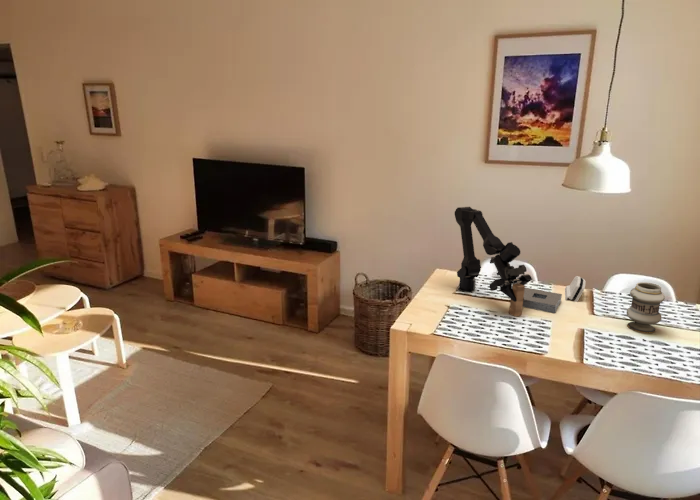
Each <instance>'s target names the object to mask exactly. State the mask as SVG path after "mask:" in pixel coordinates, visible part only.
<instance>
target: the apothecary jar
mask: <svg viewBox="0 0 700 500" xmlns="http://www.w3.org/2000/svg"><path fill="white" fill-rule="evenodd" d="M629 296H630V297H631V299H632V300H631V305H630V307H628V308H627V309H626V315H627V317H628V318H629V319H630V320H631V321H630V322H628V323H627V327H628V328H629V330H630V329H631V330H633V331H634V332H637V333H641V334H653V333H656V330H657V329H656V328H655V327H654V326H653V325H656V324H658V323H660V322H661V320H662V315H661V313H660V306H661V303H663V302H664V301H665V300H666V299H665V298H666V297H665V294H664V293H663V292H662V287H661V285H659V284H657V283H653V282H643V281H642V282H641V281H640V282H637V283H636V284H635V287H634V288H632V289H631V290H630V292H629Z"/></svg>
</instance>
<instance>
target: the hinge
mask: <svg viewBox="0 0 700 500" xmlns="http://www.w3.org/2000/svg"><path fill="white" fill-rule="evenodd" d="M586 283H587V282H586V280H585V278H583V277H581V276H578V275H576V276H574V278H573V279H572V281H571V282H570V284H569V285H566V286H565V287H564V300H565V301H567V300H568V299H569V300H571V301H572V300H573V301H574V302H576V303H578V301H579V299H580V298H581V296H582V294H583V292H584V291H585V289H586V285H587V284H586Z"/></svg>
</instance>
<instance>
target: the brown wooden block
mask: <svg viewBox="0 0 700 500" xmlns="http://www.w3.org/2000/svg"><path fill="white" fill-rule="evenodd" d="M525 287H526V286H525V285H522V284H520V283H517V284H512V290H513V292H514V295H515V297H516V300H517V301H516V302H514V301H513V300H512V299H511V298H510V303H509V310H508V311H509V312H508V313H509V315H511V316H513V317H519V316H522V315H523V314H522V312H523V307H522V306H523V298H524V290H525Z"/></svg>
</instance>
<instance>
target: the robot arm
mask: <svg viewBox="0 0 700 500" xmlns="http://www.w3.org/2000/svg"><path fill="white" fill-rule="evenodd" d="M454 218H455V222H456V223H457V225H458V226H459V228H460V235H461V244H462V253H463V258H462V261H461V267H460V268H459V270H458V271H456V274H457V277H458V278H459V285H458V288H457V290H458V291H463V292H468V293H472V292H473V291H474V290H475V289H476V278H478V277H479V275H480V273H481V268H482V266H481V259H480V258H477V257H476V253H475V248H474V239H473V232H472V231H473V229H472V224H474V226H475V228H476V230H477V231H478V233H479V235H480V237H481V239H482V240H483V242H482V247H483V249H484V251H485V254H487V255H488V256H492V257H490V260H489V264H494V266H495V269H496V271H497V272H496V275H497V276H499V277H500V278H496V279H494V280H493V281H492V282H491V283H489V289H490V291H491V292H493V291H497V290H498V287H499V288H500V289H499V290H498V292H501V293H503V294H504V295H506V296H507V298H509V299H510V300H511V299H512V300H513V301H514V302H516V301H517V300H516V297H515V295H514V292H513V290H512V284H517V283H520V284H522V285H524V286H525V285H527V284H528V283H530V281H532V280H533V277H532V276H531V274H529V273H527V267H526V265H525V264H520V265H518V267H514V266H513V265H511V264H510V263H511V262H513V261H514V260H515V259H516V258H518V257H519V256H520V255H521V249H520V248H519V247H518V246H517V245H516V244H513V242H512V241H511V242H509V241H508V242H507V243H506V244H504V243H503V242H502V240H501V239H500V238H499V237H497V236H496V235H495V234H494V233H493V231H492V229H491V228H490V226H489V224H488V222H487V221H486V220H485V217H484V214H483V211H482V210H478V209H475V208H472V207H471V206H461V207H456V209H455V211H454ZM525 272H526V273H527V274H526V273H525ZM523 300H524V298H523Z"/></svg>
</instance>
